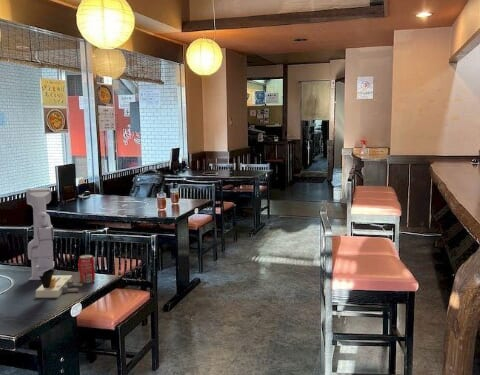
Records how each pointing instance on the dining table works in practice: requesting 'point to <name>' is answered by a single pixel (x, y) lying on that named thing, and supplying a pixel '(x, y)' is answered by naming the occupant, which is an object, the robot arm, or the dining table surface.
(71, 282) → the white peg legs
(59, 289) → the slider switch box
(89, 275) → the soda can
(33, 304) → the dining table surface
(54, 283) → the knob
